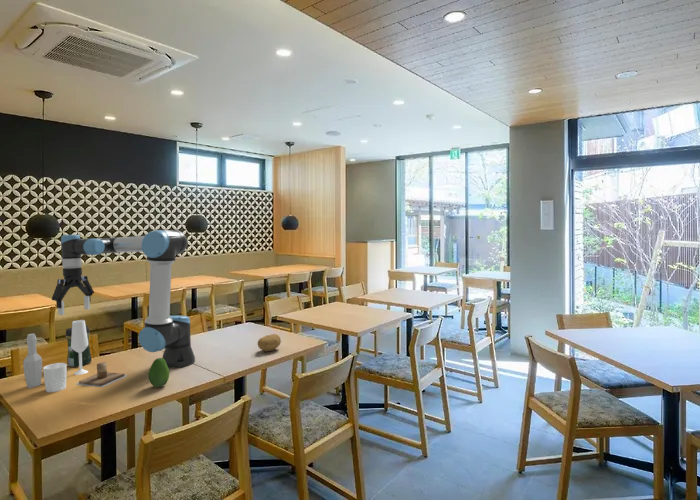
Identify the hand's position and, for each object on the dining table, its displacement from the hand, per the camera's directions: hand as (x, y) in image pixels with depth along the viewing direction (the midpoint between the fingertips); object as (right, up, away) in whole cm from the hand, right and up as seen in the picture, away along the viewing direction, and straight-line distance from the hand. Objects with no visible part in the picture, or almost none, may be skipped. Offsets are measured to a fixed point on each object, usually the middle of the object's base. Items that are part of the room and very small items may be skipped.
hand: (74, 312), depth 200 cm
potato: (+88, -24, +24) cm, 94 cm away
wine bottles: (0, -26, +4) cm, 26 cm away
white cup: (+11, -28, -28) cm, 41 cm away
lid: (+24, -27, -18) cm, 40 cm away
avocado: (+52, -27, -26) cm, 64 cm away
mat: (+24, -27, -18) cm, 40 cm away
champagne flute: (+9, -27, -9) cm, 29 cm away
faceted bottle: (-2, -28, -24) cm, 37 cm away
